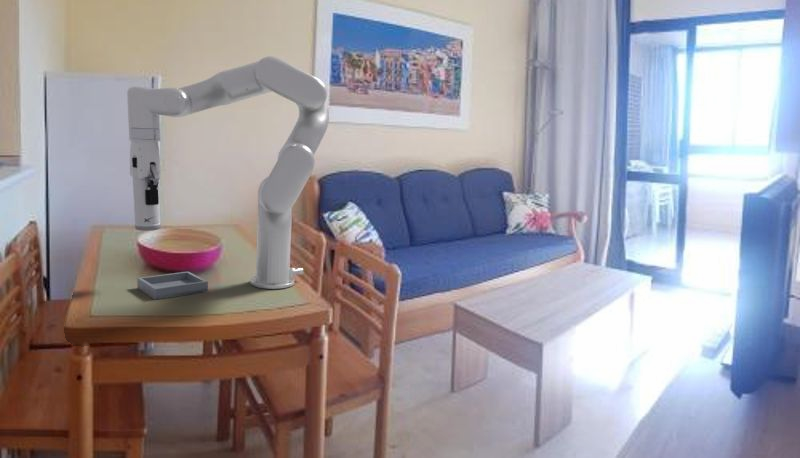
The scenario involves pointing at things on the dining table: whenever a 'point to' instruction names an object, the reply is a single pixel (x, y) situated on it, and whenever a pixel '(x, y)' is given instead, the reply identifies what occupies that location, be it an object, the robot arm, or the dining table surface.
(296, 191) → the robot arm
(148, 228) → the travel mug
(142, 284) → the tray
